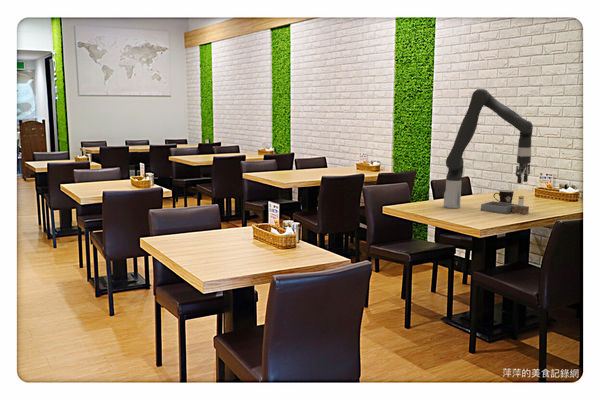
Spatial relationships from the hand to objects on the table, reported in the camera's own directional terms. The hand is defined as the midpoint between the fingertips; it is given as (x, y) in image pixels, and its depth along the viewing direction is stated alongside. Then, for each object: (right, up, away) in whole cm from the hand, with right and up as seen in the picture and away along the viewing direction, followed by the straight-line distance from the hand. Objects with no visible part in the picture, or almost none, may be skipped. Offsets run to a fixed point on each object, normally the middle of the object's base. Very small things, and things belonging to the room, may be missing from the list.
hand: (522, 182), depth 324 cm
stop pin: (0, -18, +3) cm, 18 cm away
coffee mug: (-2, -15, +26) cm, 30 cm away
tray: (-10, -17, +11) cm, 22 cm away
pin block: (0, -18, +3) cm, 18 cm away
